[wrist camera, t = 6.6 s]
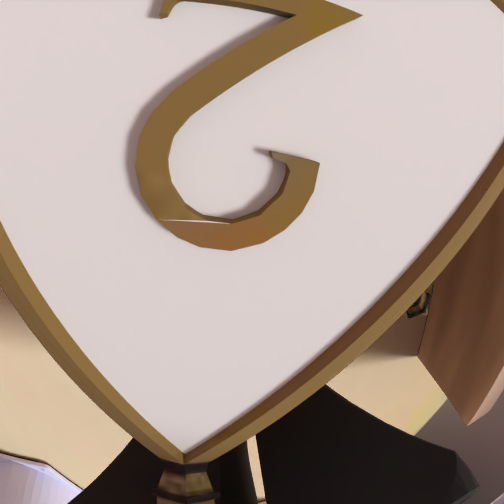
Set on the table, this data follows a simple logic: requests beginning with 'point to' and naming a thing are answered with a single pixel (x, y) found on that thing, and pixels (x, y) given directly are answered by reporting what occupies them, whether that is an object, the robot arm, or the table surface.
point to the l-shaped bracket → (470, 321)
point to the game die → (236, 196)
